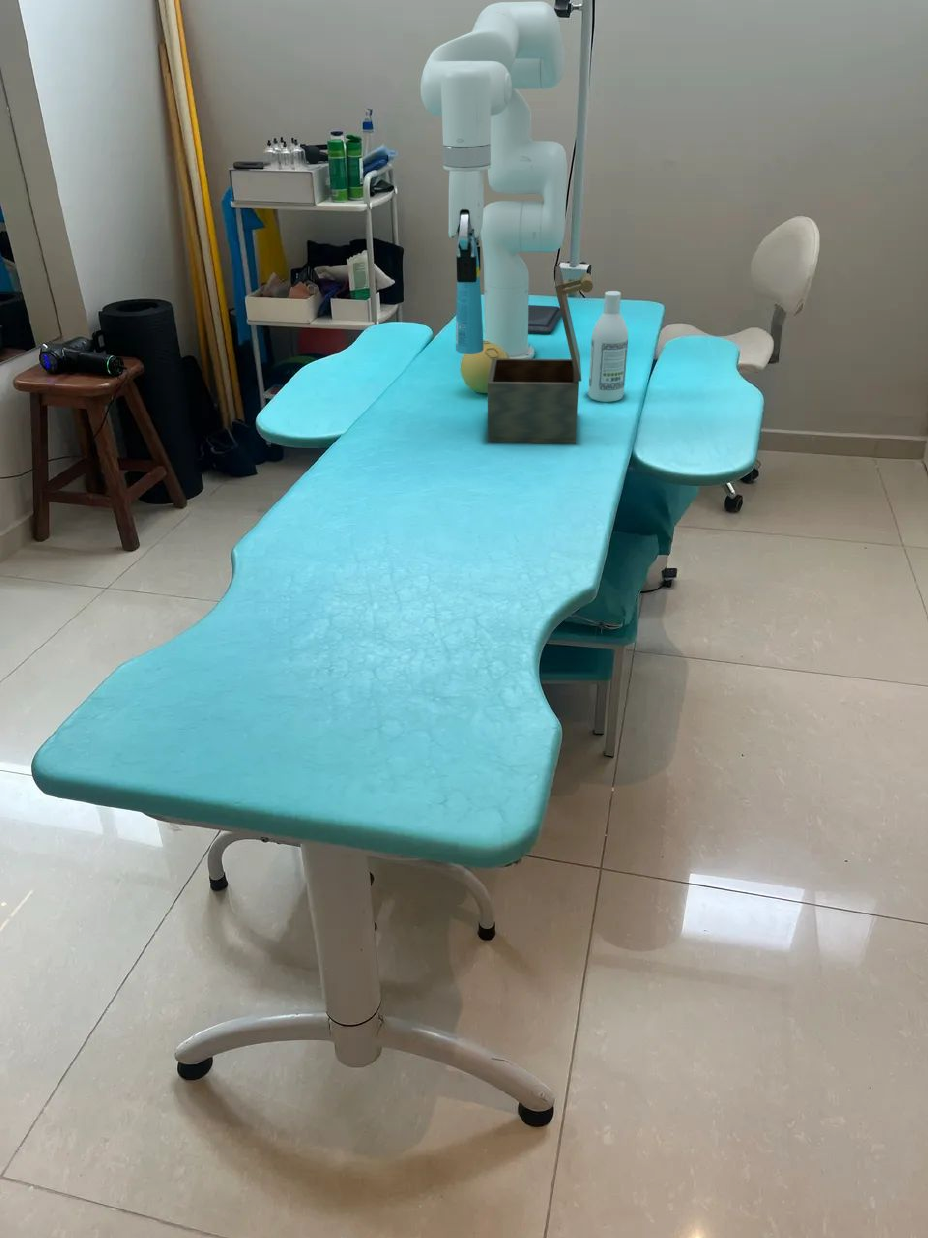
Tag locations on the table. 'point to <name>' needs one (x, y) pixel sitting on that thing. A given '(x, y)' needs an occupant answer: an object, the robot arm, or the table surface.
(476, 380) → the stress ball
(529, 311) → the wallet
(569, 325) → the lid
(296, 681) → the table surface
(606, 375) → the bath foam
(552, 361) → the chest
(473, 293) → the tube
